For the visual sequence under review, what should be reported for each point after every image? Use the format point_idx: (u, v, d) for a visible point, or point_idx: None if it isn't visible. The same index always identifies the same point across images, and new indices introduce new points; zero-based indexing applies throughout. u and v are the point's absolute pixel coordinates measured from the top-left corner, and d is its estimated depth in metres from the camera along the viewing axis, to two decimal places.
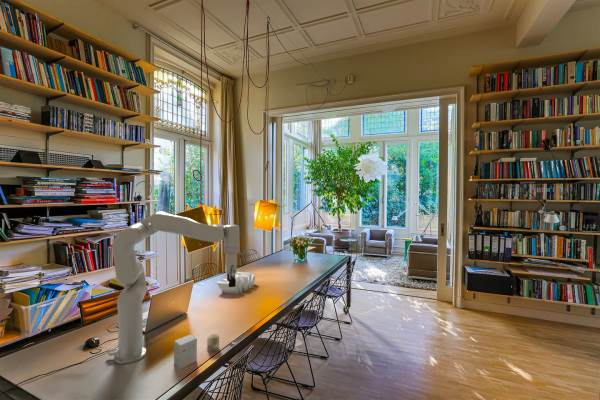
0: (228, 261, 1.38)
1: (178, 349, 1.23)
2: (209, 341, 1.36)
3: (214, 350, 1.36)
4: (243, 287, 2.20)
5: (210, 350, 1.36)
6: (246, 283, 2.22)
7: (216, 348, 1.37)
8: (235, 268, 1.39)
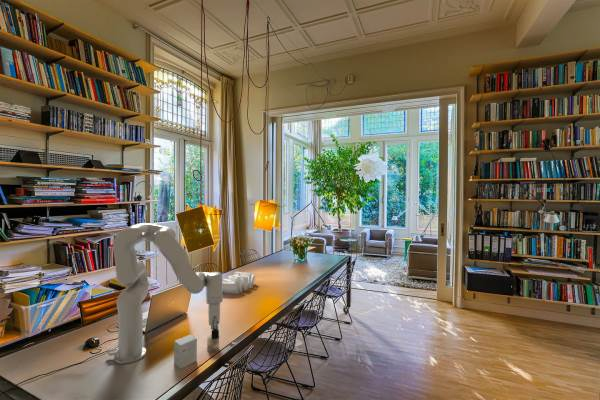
0: (210, 312, 1.33)
1: (178, 349, 1.23)
2: (209, 341, 1.36)
3: (214, 350, 1.36)
4: (243, 287, 2.21)
5: (210, 350, 1.36)
6: (246, 283, 2.22)
7: (216, 348, 1.37)
8: (218, 319, 1.34)
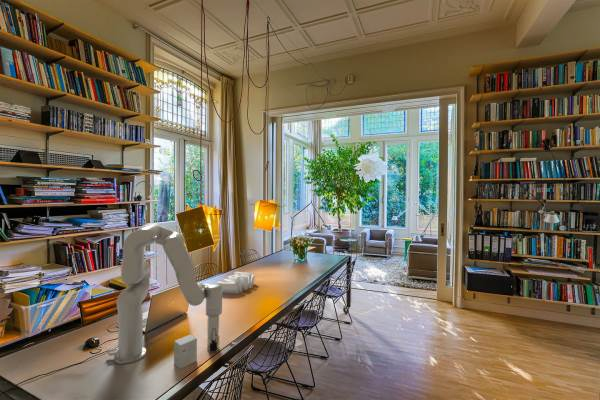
0: (209, 324, 1.33)
1: (178, 349, 1.23)
2: (209, 341, 1.36)
3: None
4: (243, 287, 2.21)
5: None
6: (246, 283, 2.22)
7: None
8: (217, 333, 1.35)
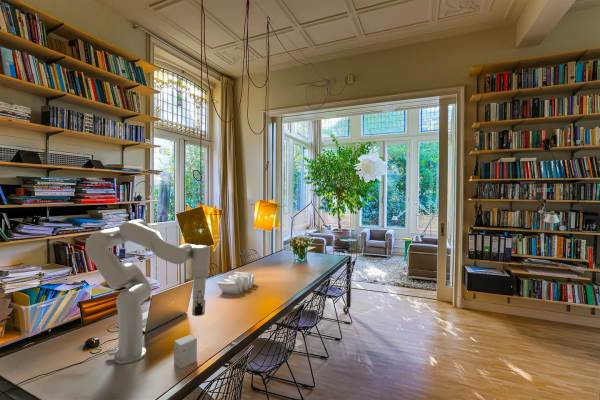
0: (195, 286, 1.27)
1: (178, 349, 1.23)
2: (194, 304, 1.29)
3: None
4: (243, 287, 2.21)
5: None
6: (246, 283, 2.23)
7: (202, 312, 1.30)
8: (203, 296, 1.28)
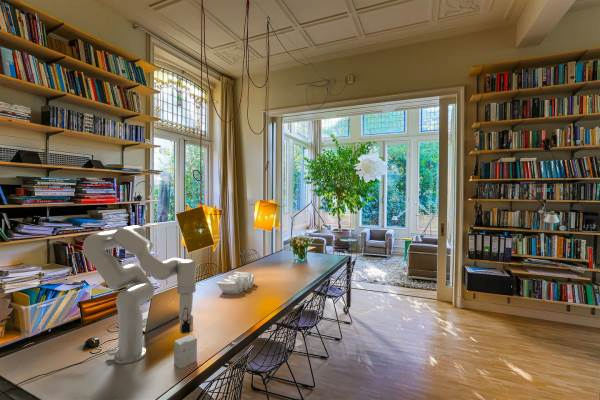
0: (181, 303, 1.21)
1: (178, 349, 1.23)
2: (181, 322, 1.24)
3: None
4: (243, 287, 2.21)
5: None
6: (246, 283, 2.23)
7: None
8: (189, 313, 1.23)
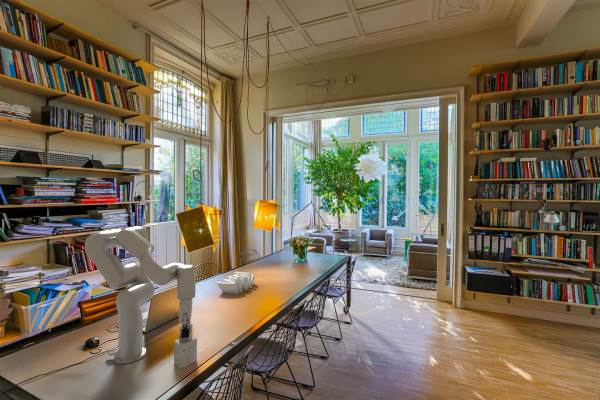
0: (180, 308, 1.22)
1: (178, 349, 1.23)
2: None
3: (186, 340, 1.25)
4: (243, 287, 2.21)
5: (182, 340, 1.24)
6: (246, 283, 2.23)
7: (188, 338, 1.25)
8: (189, 317, 1.23)
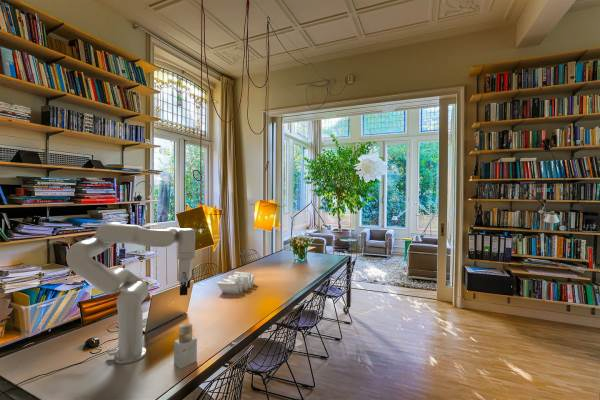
0: (180, 267, 1.29)
1: (178, 349, 1.23)
2: (180, 330, 1.25)
3: (186, 340, 1.25)
4: (243, 287, 2.21)
5: (182, 340, 1.24)
6: (246, 283, 2.23)
7: (188, 338, 1.25)
8: (187, 275, 1.30)
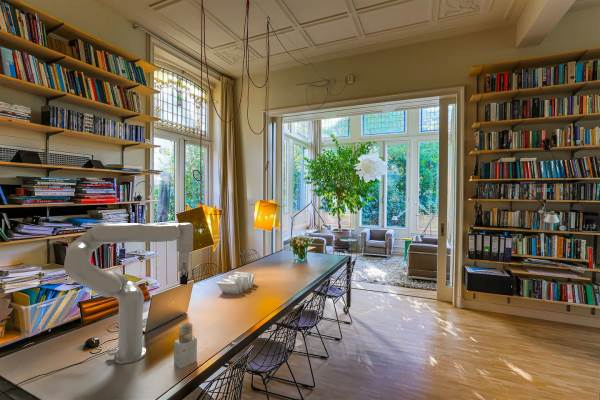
0: (180, 259, 1.39)
1: (178, 349, 1.23)
2: (181, 330, 1.24)
3: (186, 340, 1.25)
4: (243, 287, 2.21)
5: (182, 340, 1.24)
6: (246, 283, 2.22)
7: (188, 338, 1.25)
8: (187, 266, 1.40)
